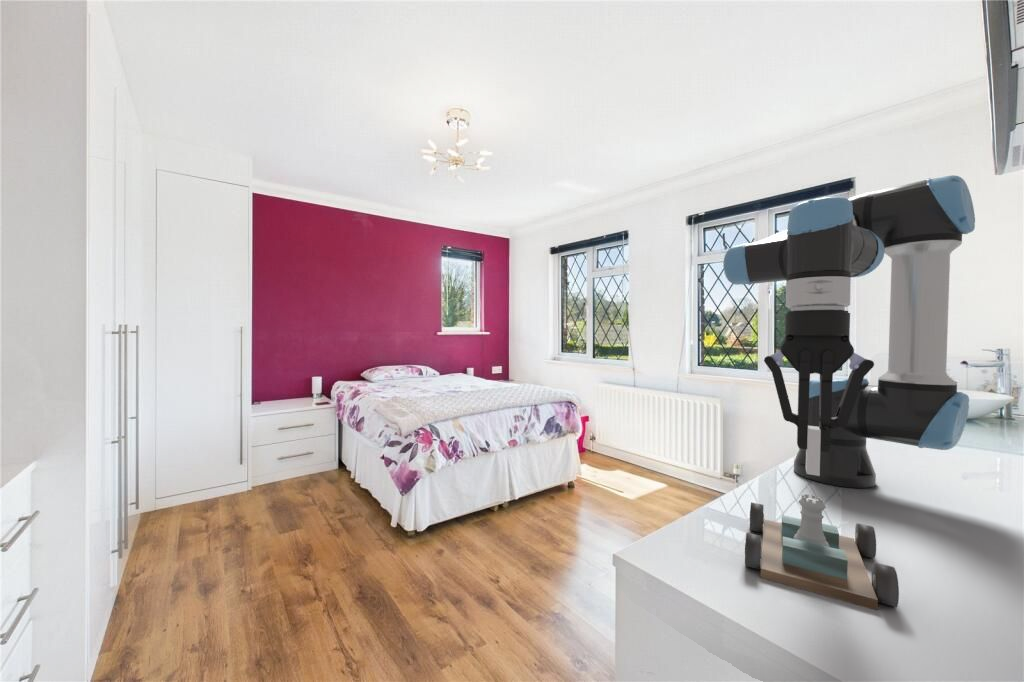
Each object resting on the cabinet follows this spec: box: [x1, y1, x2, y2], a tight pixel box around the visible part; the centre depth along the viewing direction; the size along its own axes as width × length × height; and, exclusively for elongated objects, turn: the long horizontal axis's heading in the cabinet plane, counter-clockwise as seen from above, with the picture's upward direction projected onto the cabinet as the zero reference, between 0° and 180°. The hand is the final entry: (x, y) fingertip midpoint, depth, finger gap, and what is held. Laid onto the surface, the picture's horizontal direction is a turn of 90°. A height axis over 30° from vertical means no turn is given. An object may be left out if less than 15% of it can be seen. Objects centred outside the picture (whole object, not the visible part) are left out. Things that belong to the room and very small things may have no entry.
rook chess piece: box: [793, 493, 829, 547], centre depth 60 cm, size 4×4×8 cm
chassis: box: [744, 502, 900, 611], centre depth 60 cm, size 18×16×4 cm
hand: (812, 472), depth 60 cm, fingers closed
